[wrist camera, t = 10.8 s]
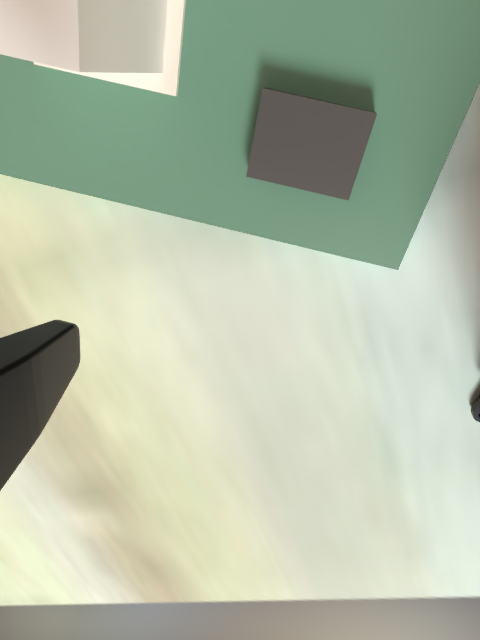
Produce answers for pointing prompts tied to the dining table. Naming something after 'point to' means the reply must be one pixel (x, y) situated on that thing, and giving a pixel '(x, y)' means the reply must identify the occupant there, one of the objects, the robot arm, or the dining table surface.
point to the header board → (263, 119)
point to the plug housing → (86, 34)
